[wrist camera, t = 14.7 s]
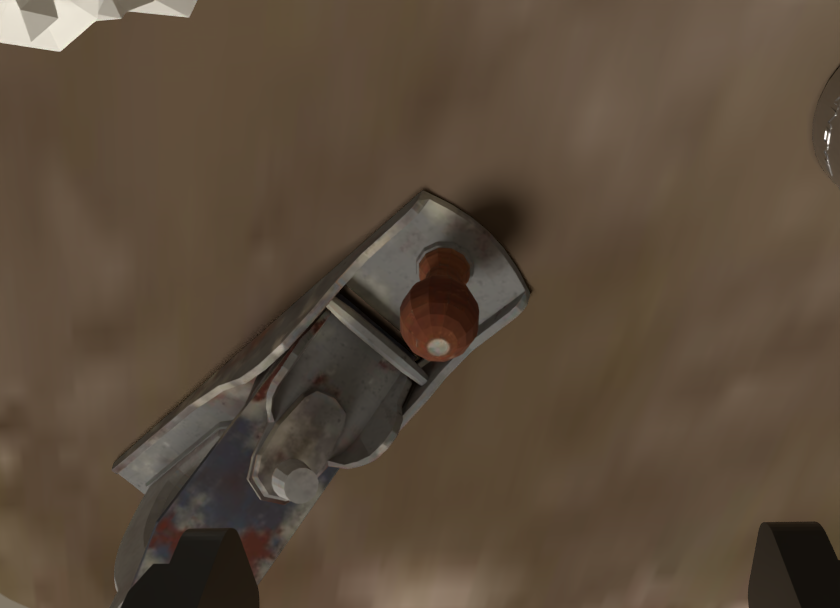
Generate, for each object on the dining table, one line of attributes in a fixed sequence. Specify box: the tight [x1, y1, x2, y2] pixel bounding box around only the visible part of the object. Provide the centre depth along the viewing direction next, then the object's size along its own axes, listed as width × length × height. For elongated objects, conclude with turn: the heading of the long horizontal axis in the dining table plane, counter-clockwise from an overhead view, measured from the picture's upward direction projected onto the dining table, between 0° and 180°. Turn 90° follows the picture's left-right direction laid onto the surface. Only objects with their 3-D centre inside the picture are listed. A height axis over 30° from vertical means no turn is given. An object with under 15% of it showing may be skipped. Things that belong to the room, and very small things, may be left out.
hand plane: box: [110, 190, 530, 608], centre depth 44 cm, size 9×33×15 cm, turn 135°
